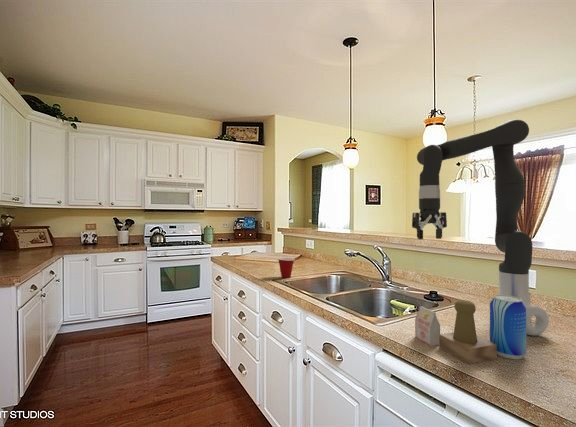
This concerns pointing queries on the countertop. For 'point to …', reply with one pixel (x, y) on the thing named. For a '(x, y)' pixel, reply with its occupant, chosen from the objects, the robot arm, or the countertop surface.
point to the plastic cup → (286, 266)
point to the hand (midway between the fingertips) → (429, 239)
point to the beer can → (508, 326)
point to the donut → (540, 322)
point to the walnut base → (468, 349)
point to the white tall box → (427, 326)
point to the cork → (465, 322)
